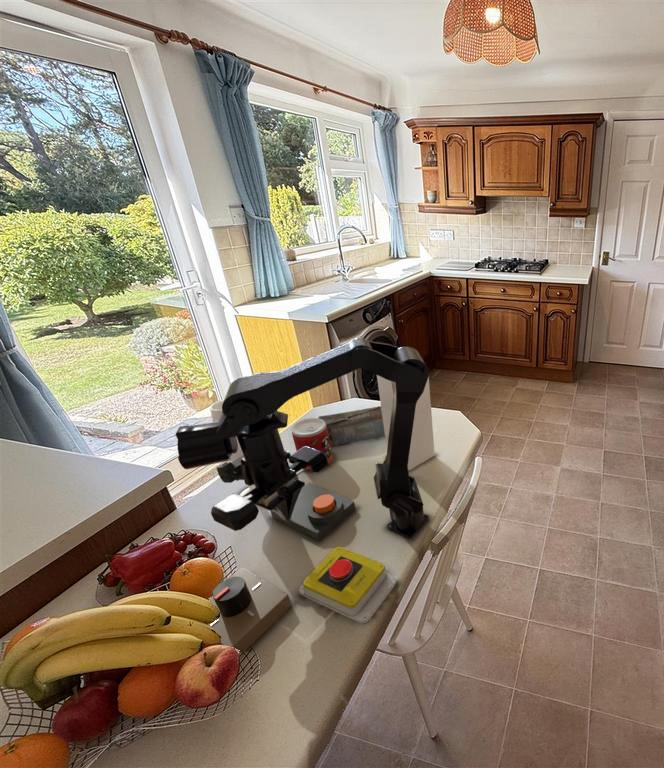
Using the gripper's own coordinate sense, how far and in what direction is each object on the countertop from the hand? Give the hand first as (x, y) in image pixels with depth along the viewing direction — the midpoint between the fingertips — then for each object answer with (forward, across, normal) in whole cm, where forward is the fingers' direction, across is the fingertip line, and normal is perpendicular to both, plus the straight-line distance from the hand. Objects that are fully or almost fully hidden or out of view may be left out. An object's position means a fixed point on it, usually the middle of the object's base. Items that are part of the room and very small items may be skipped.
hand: (286, 519), depth 75 cm
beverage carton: (+10, -36, -19) cm, 42 cm away
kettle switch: (+6, -9, -2) cm, 11 cm away
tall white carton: (+10, -35, +1) cm, 37 cm away
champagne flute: (+10, -8, -23) cm, 26 cm away
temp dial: (+6, +13, +2) cm, 14 cm away
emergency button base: (+10, -9, -6) cm, 14 cm away
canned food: (+10, -22, -20) cm, 31 cm away
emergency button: (+10, +1, +14) cm, 17 cm away
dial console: (+9, +13, +2) cm, 16 cm away
